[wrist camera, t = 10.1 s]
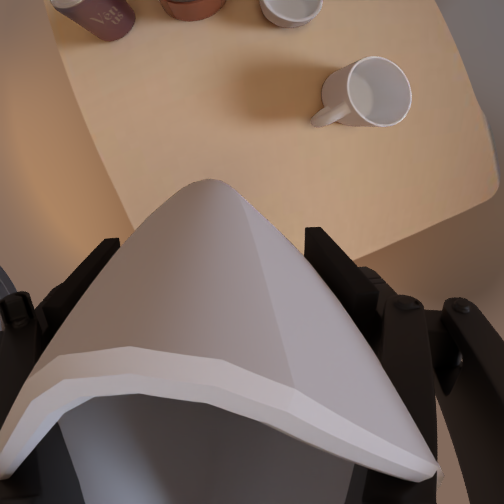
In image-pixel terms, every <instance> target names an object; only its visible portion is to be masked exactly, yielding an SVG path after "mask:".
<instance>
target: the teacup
mask: <svg viewBox="0 0 504 504" xmlns="http://www.w3.org/2000/svg"><path fill="white" fill-rule="evenodd" d="M322 3H323V0H260V6H261V9H262V12H263V14H264V16H265V17H266V18H267V19H268V20H269V21H271V22H272V23H274V24H276V25H278V26H281V27H285V28H294V27H299V26H303V25H305V24H307V23H308V22H310V21H311V20H312V19H313V18H314V17H315V16H316V15H317V14H318V13H319V12H320V10H321V8H322Z"/></svg>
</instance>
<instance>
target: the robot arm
mask: <svg viewBox="0 0 504 504" xmlns="http://www.w3.org/2000/svg"><path fill="white" fill-rule="evenodd" d="M119 248H120V241H119V238H109V239H104V240H103V241H102V242H101V243H100V244H99V245H98V246H97V247H96V248H95V249H94V250H93V251H92V252H91V253H90V255H89V256H88V257H87V258H86V259H85V260H84V261H83V262H82V263H81V264H80V265H79V266H78V267H77V268H76V269H75V271H73V273H72V274H71V275H70V276H69V277H68V278H67V279H66V280H65V281H64V282H63V283H61V284H60V285H58V286H56V287H55V288H53V289H52V290H51V291H50V293H49V294H48V295H47V296H46V297H45V298H44V299H43V301H42V302H41V303H40V304H39V305H38V306H37V307H36V308H35V310H34V307H33V304H32V301H31V297H30V294H29V293H27V292H24V291H20V292H15V293H12V294H9V295H7V296H5V297H3V298H2V299H1V300H0V430H1V428H2V426H3V424H4V422H5V420H6V418H7V416H8V414H9V412H10V410H11V408H12V406H13V404H14V402H15V400H16V398H17V396H18V394H19V392H20V390H21V388H22V387H23V385H24V383H25V381H26V379H27V378H28V376H29V375H30V373H31V371H32V370H33V368H34V366H35V365H36V363H37V362H38V360H39V358H40V357H41V355H42V354H43V352H44V351H45V349H46V348H47V346H48V345H49V343H50V342H51V340H52V339H53V337H54V336H55V334H56V333H57V331H58V330H59V328H60V327H61V325H62V324H63V322H64V321H65V320H66V318H67V317H68V315H69V314H70V312H71V311H72V310H73V308H74V307H75V305H76V304H77V303H78V301H79V300H80V298H81V297H82V296H83V294H84V293H85V292H86V290H87V289H88V288H89V286H90V285H91V284H92V282H93V281H94V280H95V278H96V277H97V276H98V274H99V273H100V272H101V271H102V269H103V268H104V267H105V265H106V264H107V263H108V262H109V260H110V259H111V258H112V257H113V255H114V254H115V253H116V252H117V250H118V249H119ZM304 257H305V258H306V259H307V260H308V261H309V262H310V264H311V265H312V266H313V268H314V269H315V270H316V271H317V273H318V274H319V275H320V277H321V278H322V279H323V280H324V282H325V283H326V284H327V286H328V287H329V288H330V289H331V291H332V292H333V293H334V295H335V296H336V297H337V299H338V300H339V301H340V303H341V304H342V306H343V307H344V309H345V310H346V311H347V313H348V314H349V316H350V317H351V319H352V320H353V322H354V323H355V325H356V326H357V328H358V329H359V331H360V332H361V333H362V335H363V336H364V338H365V339H366V341H367V342H368V344H369V345H370V347H371V348H372V350H373V351H374V353H375V355H376V356H377V358H378V360H379V361H380V363H381V364H382V367H383V369H384V371H385V372H386V374H387V376H388V377H389V379H390V381H391V382H392V384H393V386H394V387H395V389H396V391H397V393H398V394H399V396H400V398H401V399H402V401H403V403H404V405H405V406H406V408H407V410H408V412H409V413H410V415H411V417H412V419H413V420H414V422H415V424H416V426H417V427H418V429H419V431H420V433H421V434H422V436H423V438H424V440H425V442H426V443H427V445H428V447H429V449H430V451H431V453H432V454H433V456H434V458H435V460H436V462H437V418H436V401H435V395H436V397H437V400H438V402H439V405H440V408H441V411H442V413H443V416H444V419H445V422H446V425H447V427H448V430H449V433H450V436H451V439H452V442H453V445H454V448H455V452H456V455H457V458H458V461H459V465H460V468H461V471H462V474H463V478H464V482H465V486H466V489H467V493H468V497H469V501H470V504H504V341H503V340H502V338H501V337H500V336H499V334H498V333H497V332H496V331H495V329H494V328H493V326H492V325H491V324H490V322H489V321H488V320H487V319H486V317H485V316H484V315H483V314H482V312H481V311H480V310H479V309H478V307H477V306H476V305H475V304H473V303H472V302H470V301H468V300H467V299H465V298H464V299H463V298H461V297H459V298H449V299H447V300H445V302H444V306H443V309H442V311H438V310H424V306H423V305H422V303H421V302H420V301H419V300H417V299H415V298H413V297H411V296H406V295H398V294H397V293H396V292H395V291H394V290H393V289H392V288H391V287H390V286H389V285H388V284H387V283H386V282H385V281H384V280H383V279H382V278H381V277H380V276H379V275H378V274H377V273H376V272H375V271H374V270H372V269H370V268H368V267H357V265H356V264H355V263H354V262H353V261H352V260H351V259H350V258H349V257H348V256H347V255H346V253H345V252H344V251H343V250H342V249H341V248H340V247H339V246H338V245H337V244H336V243H335V242H334V241H333V240H332V239H331V237H330V236H329V235H328V234H327V233H326V232H325V231H324V230H323V229H322V228H321V227H307V228H305V250H304ZM461 360H463V361H461ZM436 487H437V471H436V472H435V474H434V476H433V477H431V478H429V479H426V480H424V481H421V482H413V481H407V480H403V479H400V478H396V477H393V476H390V475H387V474H384V473H381V472H378V471H375V470H372V469H369V468H366V467H363V466H361V465H358V464H354V468H353V472H352V476H351V480H350V484H349V488H348V492H347V496H346V500H345V503H344V504H437V503H436ZM0 504H85V501H84V498H83V494H82V490H81V487H80V483H79V479H78V477H77V474H76V471H75V469H74V466H73V463H72V460H71V457H70V454H69V452H68V449H67V446H66V443H65V441H64V438H63V435H62V432H61V429H60V426H59V424H58V422H56V423H55V424H54V426H53V427H52V428H51V429H50V430H49V431H48V433H47V434H46V435H45V436H44V437H43V438H42V440H41V441H40V442H39V443H38V444H37V445H36V447H35V448H34V449H33V450H32V451H31V453H30V454H29V455H28V456H27V457H26V459H25V460H24V461H23V462H22V463H21V464H20V466H19V467H18V468H17V469H16V471H15V472H14V473H13V474H12V475H11V477H10V478H7V479H3V480H0Z"/></svg>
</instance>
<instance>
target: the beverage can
mask: <svg viewBox="0 0 504 504" xmlns="http://www.w3.org/2000/svg"><path fill="white" fill-rule="evenodd" d="M50 1H51V3H52V5H53V6H54V8H55V9H56V10H57V11H59V12H60V13H62V14H64V15H65V16H67V17H68V18H70V19H71V20H73V21H75V22H76V23H78V24H79V25H81V26H82V27H84V28H85V29H87V30H88V31H90V32H91V33H93V34H94V35H96V36H97V37H99V38H100V39H102V40H105V41H114V40H117V39H120V38H122V37H123V36H125V35H126V34H127V33H128V32H129V31H130V30H131V28H132V26H133V24H134V21H135V14H134V11H133V10H132V8H131V7H130V6H129V5H128V4H127V2H126V1H125V0H50Z"/></svg>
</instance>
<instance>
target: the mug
mask: <svg viewBox="0 0 504 504" xmlns="http://www.w3.org/2000/svg"><path fill="white" fill-rule="evenodd" d="M411 100H412V94H411V88H410V84H409V81H408V79H407V77H406V76H405V74H404V72H403V71H402V70H401V69H400V68H399V67H398V66H397V65H396V64H395V63H393V62H392V61H390V60H388V59H386V58H383V57H378V56H369V57H365V58H363V59H360V60H358V61H356V62H354V63H352V64H350V65H347V66H345V67H343V68H341V69H339V70H337V71H335V72H334V73H332V74H331V75H330V76H329V77H328V78H327V79H326V81H325V82H324V84H323V87H322V102H323V105H324V108H323V109H321V110H320V111H318V112H317V113H316V114H315V115H314V116H313V117H312V118H311V124H312V125H313V126H314V127H323V126H326V125H329V124H331V123H333V122H335V121H337V122H339V123H341V124H344V125H347V126H368V127H388V126H393V125H395V124H397V123H399V122H400V121H401V120H402V119H404V117H405V116H406V115H407V113H408V111H409V109H410V106H411Z"/></svg>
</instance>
